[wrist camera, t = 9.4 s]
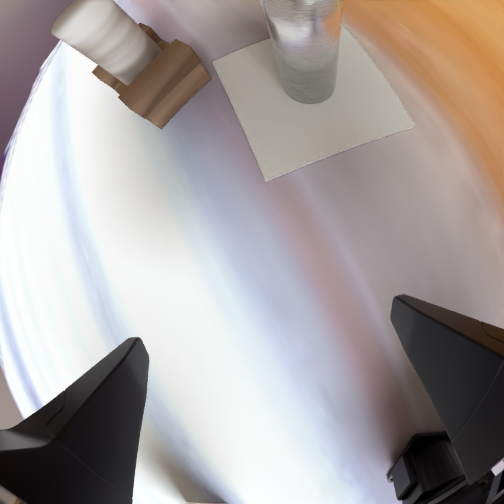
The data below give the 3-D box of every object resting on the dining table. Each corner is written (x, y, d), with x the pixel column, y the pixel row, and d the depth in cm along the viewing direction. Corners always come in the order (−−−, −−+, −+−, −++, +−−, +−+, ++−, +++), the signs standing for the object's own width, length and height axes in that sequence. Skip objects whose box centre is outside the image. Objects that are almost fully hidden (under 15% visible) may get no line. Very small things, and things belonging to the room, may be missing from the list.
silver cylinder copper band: (346, 95, 17) (365, -43, 4) (295, 112, 17) (266, -30, 5) (320, 57, 17) (311, -73, 5) (272, 72, 18) (228, -57, 5)
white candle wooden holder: (215, 80, 19) (136, -22, 7) (164, 132, 20) (52, 61, 8) (165, 50, 20) (92, -24, 8) (123, 93, 21) (34, 36, 9)
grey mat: (413, 127, 16) (415, 125, 15) (266, 181, 18) (265, 180, 18) (337, 21, 17) (337, 19, 16) (213, 64, 19) (211, 62, 19)
